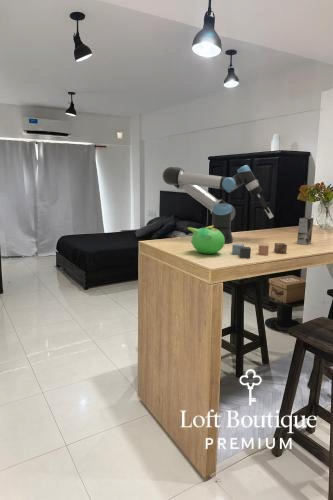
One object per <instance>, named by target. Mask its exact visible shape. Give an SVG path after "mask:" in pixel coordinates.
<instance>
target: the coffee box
mask: <svg viewBox="0 0 333 500" xmlns="http://www.w3.org/2000/svg"><path fill="white" fill-rule="evenodd" d="M314 219H315V218H313V217H300V218H299V222H298V230H297V231H298V232H297V241H296V244H297V245H304V246H308V245H310V244H311V243H312V235H313V227H314Z"/></svg>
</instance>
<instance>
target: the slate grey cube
mask: <svg viewBox="0 0 333 500" xmlns="http://www.w3.org/2000/svg"><path fill="white" fill-rule="evenodd" d="M240 247H245V244H243V243H234V244H232V248H231V250H232V251H231V255H237V256H240Z"/></svg>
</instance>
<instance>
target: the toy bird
mask: <svg viewBox="0 0 333 500" xmlns="http://www.w3.org/2000/svg"><path fill="white" fill-rule="evenodd" d="M212 227H213V226H212V225H209V226H205V227H204V226H203V227H201V228H194V227H187V228H186V229H187V230H188V231H190V232H192V235H191V238H190V239H191V244H192V246H193V248H194V249H195V250H196V251H198V252H199V253H201V254H205V255H207V254H208V255H213V254H215V253H216V254H217V253H218V252H220V251H221V250H222V249H223V248H224V247H225V244H226V243H225V239H224V236H223V234H222V233H221V232H220V231H219V230H217V229H215V228H212Z"/></svg>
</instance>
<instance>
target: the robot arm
mask: <svg viewBox="0 0 333 500" xmlns="http://www.w3.org/2000/svg"><path fill="white" fill-rule="evenodd" d="M236 171H237V174H235V175H233V176H232V177H229V176H228V177H227V176H219V175H213V174H204V173H197V172H188V171H185V170H184V169H183V168H182V167H179V166H178V167H177V166H176V167H175V166H169V167H167V168H165V169H164V171H163V173H162V179H163V182H164V183H165V184H167V185H169V186H174V187H175V188H176V189H178V190H179V191H184V192H185V193H186V194H188V195H190V196H191V197H192V198H193V199H195V200H196V201H197V202H199V203H200V204H202V206H204V207H205V208H207V209H208V210H209V211H210V215H212V217H211V218H212V219H211V221H212V222H211V226H213V227H212V228H215V229H217V230H219V231H220V232H221V233H222V234H223V236H224V239H225V243H224V244H231V243H233V241H234V239H233V237H234V236H233V234H232V230H231V226H232V225H231V224H232V221H233V220H234V219H235V216H236V209H235V207H234V205H232V204H230V203H227V202H226V201H224V200H223V199H218V198H216V197H215V195H212V194H211V193H210V192H208V191H207V190H206V189H204V188H213V189H218V190H219V189H220V190H225V191H226V192H227V193H231V192H234V190H235V189H236V190H237V189H238V188H240V187H241V186H242V185H244V186H245V187H246V189H247V191H249V194H250V196H251V197H254V196H256V200H257V201H258V202H259V203H260V205H261V206H262V210H263V211H264V212H265V214H266V215H267V217H268V218H269V219H273V218H274V217H275V216H274V214H273V213H272V211H271V209H270V207H269V204H267V202H265V197H264V195H263V194H261V192H262V191H263V189H262V187H261V185H260V184H259V179H257V178H256V176H255V175H254V173H253V172H252V170H251V168H250V166H249V165H248V164H245V165H243V166H241V167H239V168H238V169H237V170H236ZM203 187H204V188H203Z"/></svg>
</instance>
